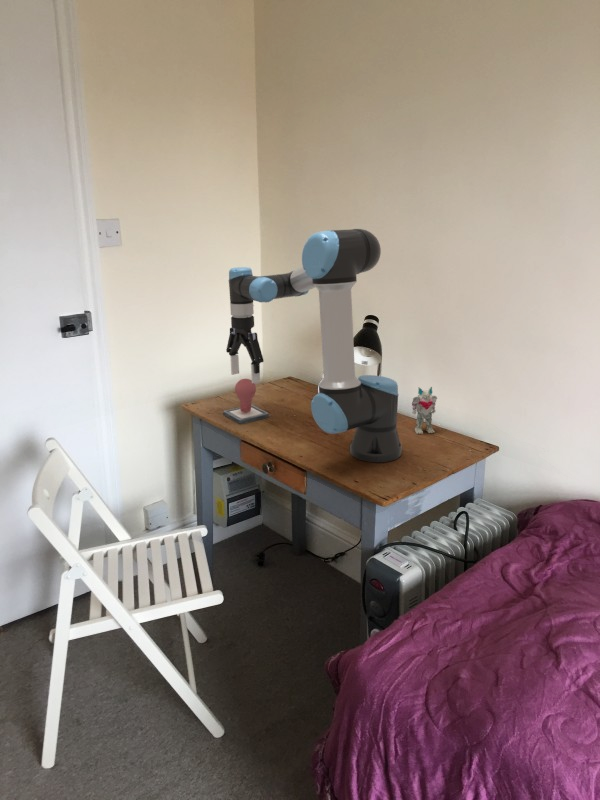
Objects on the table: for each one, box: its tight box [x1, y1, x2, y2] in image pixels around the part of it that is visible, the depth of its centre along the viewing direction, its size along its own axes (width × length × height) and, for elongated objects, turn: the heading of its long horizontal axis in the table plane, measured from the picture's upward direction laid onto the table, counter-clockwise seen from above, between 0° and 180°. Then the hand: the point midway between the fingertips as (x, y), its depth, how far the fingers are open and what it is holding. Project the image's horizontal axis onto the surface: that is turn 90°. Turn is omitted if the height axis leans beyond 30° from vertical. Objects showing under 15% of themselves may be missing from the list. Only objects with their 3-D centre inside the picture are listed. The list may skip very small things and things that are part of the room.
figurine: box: [411, 386, 438, 435], centre depth 208 cm, size 8×8×15 cm
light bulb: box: [234, 378, 257, 412], centre depth 221 cm, size 7×7×12 cm
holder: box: [222, 404, 270, 425], centre depth 224 cm, size 12×12×2 cm
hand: (245, 378), depth 219 cm, fingers open, 13 cm apart
